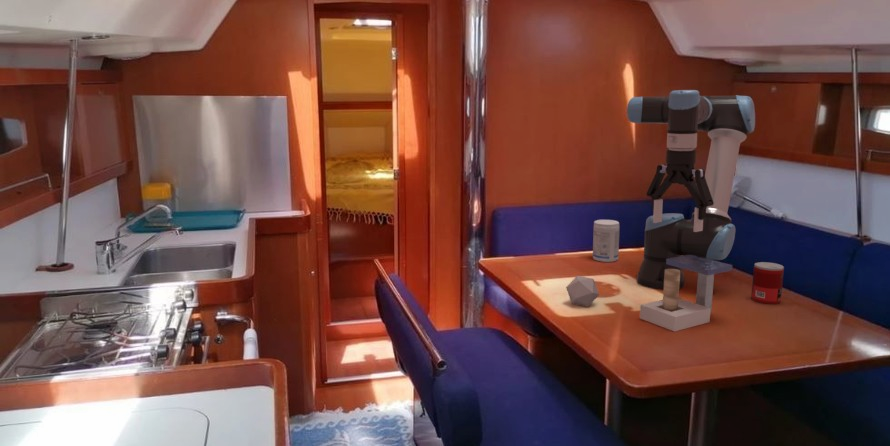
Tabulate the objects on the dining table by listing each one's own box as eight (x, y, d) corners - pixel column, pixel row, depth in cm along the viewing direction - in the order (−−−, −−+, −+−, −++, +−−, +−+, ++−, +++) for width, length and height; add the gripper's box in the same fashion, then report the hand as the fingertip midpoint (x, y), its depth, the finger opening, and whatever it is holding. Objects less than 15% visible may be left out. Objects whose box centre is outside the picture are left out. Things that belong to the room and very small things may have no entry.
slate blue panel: (663, 310, 184) (666, 258, 181) (686, 305, 188) (690, 254, 186) (704, 325, 172) (708, 270, 169) (728, 319, 177) (732, 265, 174)
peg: (668, 316, 178) (671, 267, 175) (680, 320, 174) (683, 271, 171) (658, 318, 176) (661, 269, 173) (670, 323, 172) (673, 273, 169)
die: (603, 305, 191) (591, 274, 195) (601, 299, 183) (589, 267, 187) (575, 314, 193) (565, 283, 196) (572, 308, 184) (561, 276, 188)
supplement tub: (608, 255, 249) (610, 218, 246) (623, 261, 240) (625, 223, 237) (587, 257, 245) (588, 220, 242) (601, 263, 237) (603, 224, 234)
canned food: (784, 305, 188) (787, 269, 186) (754, 303, 190) (758, 267, 188) (776, 297, 196) (779, 262, 194) (748, 295, 197) (751, 261, 195)
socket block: (639, 318, 178) (640, 304, 177) (674, 309, 184) (675, 296, 184) (674, 331, 167) (675, 317, 167) (709, 322, 174) (710, 308, 174)
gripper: (635, 146, 178) (632, 220, 183) (712, 154, 157) (706, 237, 162) (654, 144, 182) (651, 217, 187) (731, 151, 161) (725, 233, 165)
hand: (677, 226), depth 174 cm, fingers open, 13 cm apart
